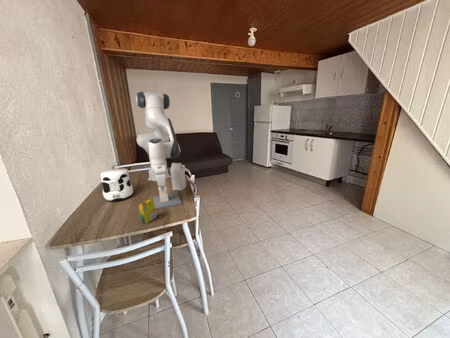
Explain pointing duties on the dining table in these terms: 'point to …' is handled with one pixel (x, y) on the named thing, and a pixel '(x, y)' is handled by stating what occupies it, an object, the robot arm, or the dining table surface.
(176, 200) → the mat
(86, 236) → the dining table surface
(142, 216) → the crayon box
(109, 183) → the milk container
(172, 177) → the milk carton
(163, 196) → the cream block
